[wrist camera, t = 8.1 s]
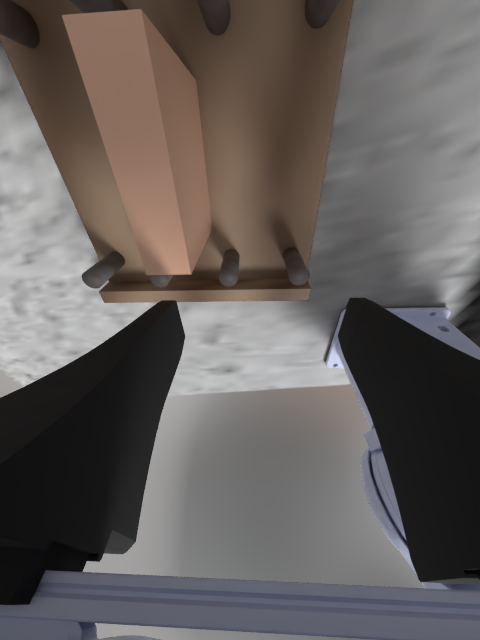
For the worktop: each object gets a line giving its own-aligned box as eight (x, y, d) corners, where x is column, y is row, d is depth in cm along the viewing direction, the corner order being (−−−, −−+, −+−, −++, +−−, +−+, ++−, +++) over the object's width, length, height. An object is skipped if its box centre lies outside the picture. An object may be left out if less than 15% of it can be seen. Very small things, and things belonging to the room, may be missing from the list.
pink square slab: (196, 80, 11) (140, 8, 5) (212, 228, 15) (191, 274, 10) (156, 82, 11) (61, 14, 5) (183, 229, 15) (146, 275, 10)
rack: (363, -112, 8) (451, -312, 5) (301, 283, 19) (314, 315, 15) (-31, -74, 9) (-215, -221, 5) (121, 286, 20) (92, 317, 16)
